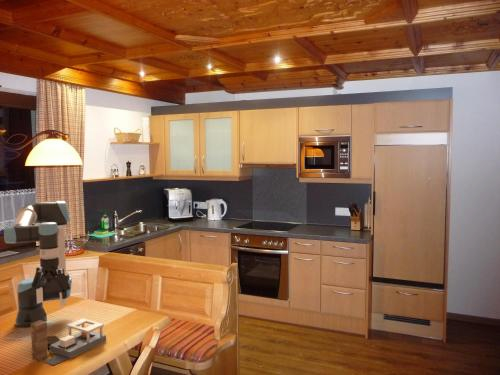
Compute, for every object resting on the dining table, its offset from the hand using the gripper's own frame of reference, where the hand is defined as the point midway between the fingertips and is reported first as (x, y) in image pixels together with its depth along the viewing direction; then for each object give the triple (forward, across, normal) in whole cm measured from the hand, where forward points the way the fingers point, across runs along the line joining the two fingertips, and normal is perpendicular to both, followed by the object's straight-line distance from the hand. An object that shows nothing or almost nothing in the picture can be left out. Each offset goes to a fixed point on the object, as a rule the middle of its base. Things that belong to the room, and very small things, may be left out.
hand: (51, 304), depth 186 cm
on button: (+19, +4, +4) cm, 20 cm away
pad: (+23, +6, -5) cm, 24 cm away
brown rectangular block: (+23, -2, -5) cm, 24 cm away
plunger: (+19, +6, +14) cm, 24 cm away
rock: (+23, -9, +5) cm, 26 cm away
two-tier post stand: (+23, +5, +10) cm, 25 cm away
